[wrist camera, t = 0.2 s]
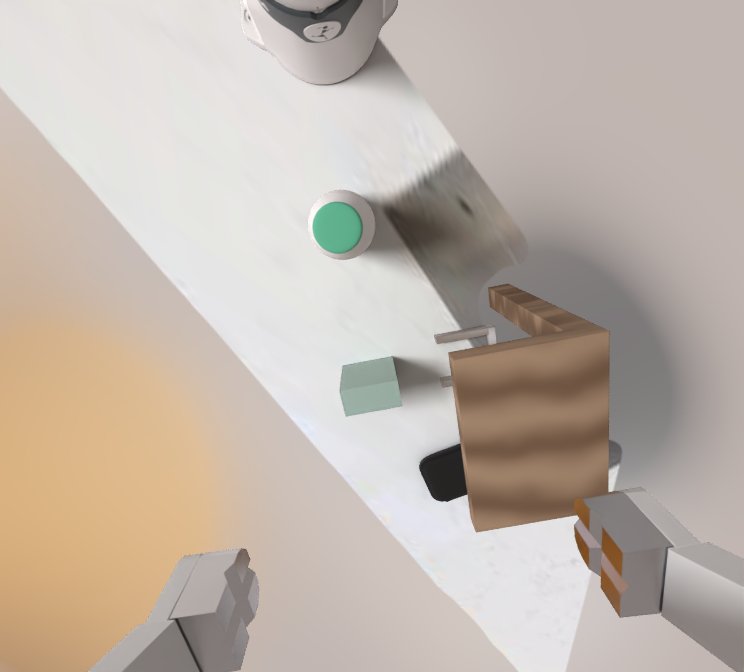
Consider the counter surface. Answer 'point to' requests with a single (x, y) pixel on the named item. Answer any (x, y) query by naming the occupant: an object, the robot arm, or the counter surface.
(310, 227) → the milk bottle
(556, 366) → the walnut overhang shelf
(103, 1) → the counter surface
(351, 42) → the robot arm
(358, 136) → the counter surface
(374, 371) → the sage rectangular block
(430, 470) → the carrying case or bag
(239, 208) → the counter surface
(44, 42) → the counter surface
